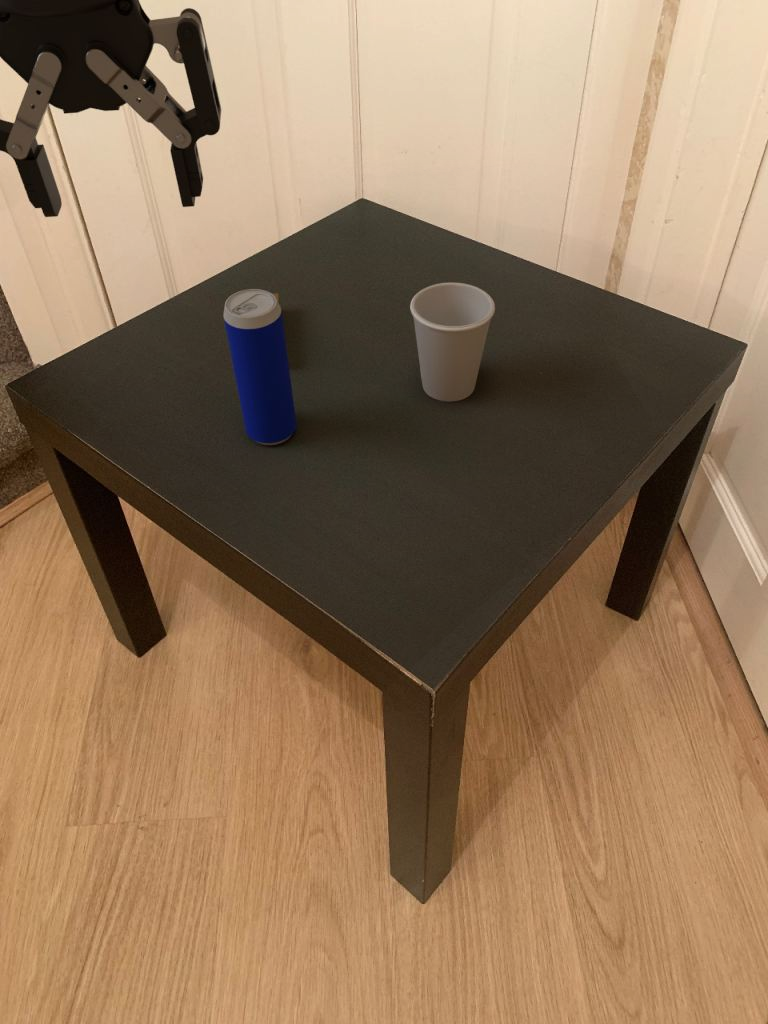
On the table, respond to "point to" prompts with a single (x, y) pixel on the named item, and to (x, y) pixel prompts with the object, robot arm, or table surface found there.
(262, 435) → the beverage can
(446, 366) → the dixie cup
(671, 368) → the table surface
